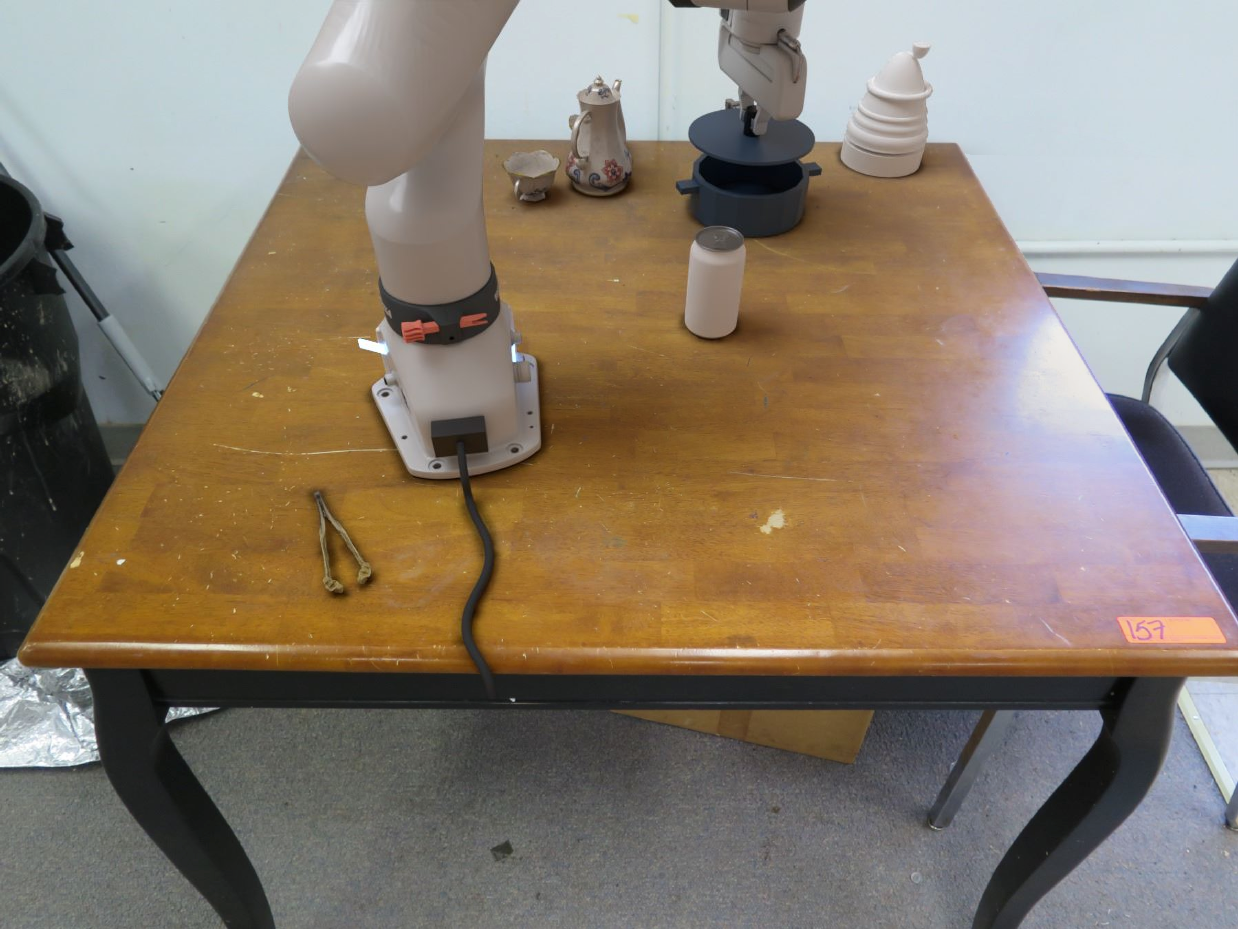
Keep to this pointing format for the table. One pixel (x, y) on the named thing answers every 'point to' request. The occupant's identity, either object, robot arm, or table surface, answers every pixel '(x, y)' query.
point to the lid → (750, 138)
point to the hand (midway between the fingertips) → (752, 126)
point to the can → (714, 281)
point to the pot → (748, 194)
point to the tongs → (328, 582)
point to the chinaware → (581, 150)
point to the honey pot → (890, 119)
